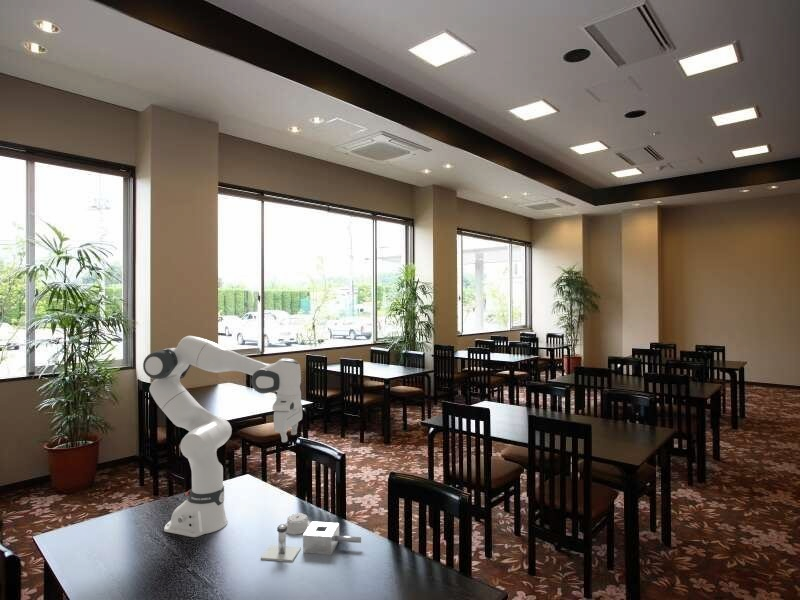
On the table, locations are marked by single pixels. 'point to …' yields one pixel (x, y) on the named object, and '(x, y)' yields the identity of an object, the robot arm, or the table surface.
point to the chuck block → (324, 538)
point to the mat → (274, 555)
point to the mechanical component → (297, 523)
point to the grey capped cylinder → (282, 538)
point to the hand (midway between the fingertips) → (289, 438)
